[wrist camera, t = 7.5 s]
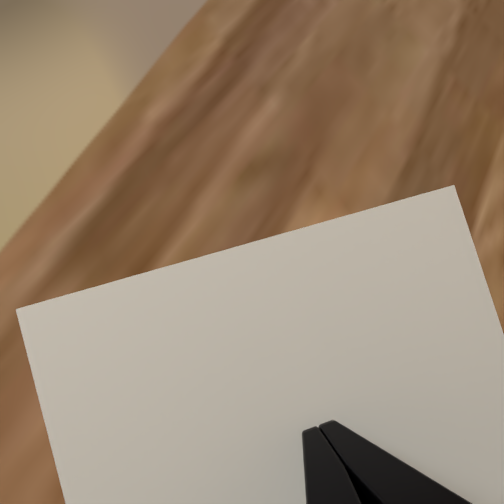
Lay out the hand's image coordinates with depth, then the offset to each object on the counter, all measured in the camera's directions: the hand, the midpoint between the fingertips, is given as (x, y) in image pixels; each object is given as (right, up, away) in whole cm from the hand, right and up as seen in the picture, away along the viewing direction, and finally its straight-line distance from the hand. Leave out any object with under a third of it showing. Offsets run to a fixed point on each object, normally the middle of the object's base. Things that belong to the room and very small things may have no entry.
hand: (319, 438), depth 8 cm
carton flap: (+1, -4, 0) cm, 5 cm away
